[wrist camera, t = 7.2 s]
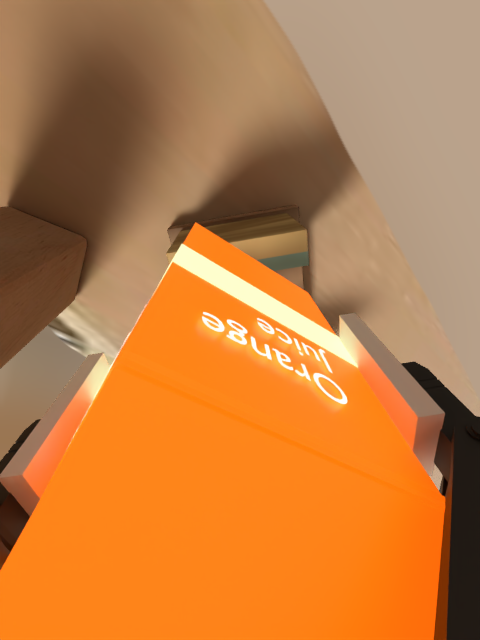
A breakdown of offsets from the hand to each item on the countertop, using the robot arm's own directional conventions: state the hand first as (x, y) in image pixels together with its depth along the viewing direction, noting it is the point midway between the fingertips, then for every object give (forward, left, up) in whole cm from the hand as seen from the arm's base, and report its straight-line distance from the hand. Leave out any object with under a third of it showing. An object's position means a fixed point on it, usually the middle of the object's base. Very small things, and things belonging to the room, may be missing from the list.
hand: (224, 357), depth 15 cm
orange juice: (0, 0, -6) cm, 6 cm away
